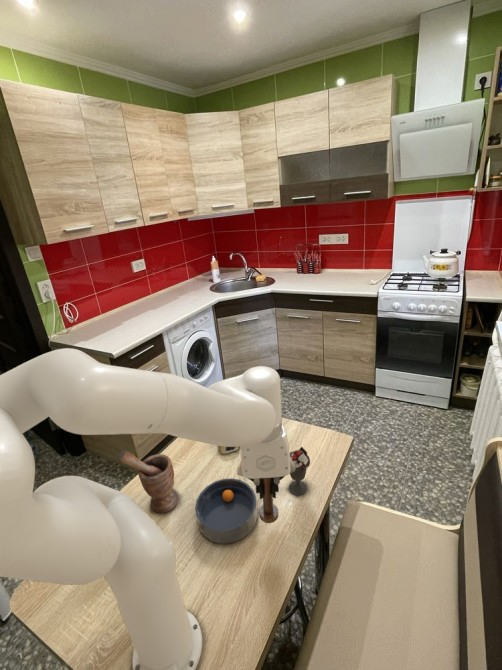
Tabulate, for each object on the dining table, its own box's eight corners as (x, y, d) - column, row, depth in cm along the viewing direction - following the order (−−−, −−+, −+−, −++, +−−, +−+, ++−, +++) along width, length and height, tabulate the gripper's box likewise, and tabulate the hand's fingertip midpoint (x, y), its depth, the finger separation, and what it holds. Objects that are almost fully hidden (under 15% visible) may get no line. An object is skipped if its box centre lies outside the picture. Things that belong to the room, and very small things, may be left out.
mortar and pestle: (145, 529, 87) (127, 470, 79) (132, 507, 93) (114, 450, 85) (185, 502, 93) (172, 445, 85) (170, 483, 100) (157, 428, 91)
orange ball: (234, 504, 91) (232, 496, 90) (222, 505, 91) (221, 496, 90) (234, 494, 94) (233, 486, 92) (223, 495, 94) (222, 487, 92)
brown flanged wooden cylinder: (279, 522, 77) (277, 481, 72) (259, 523, 77) (256, 483, 72) (277, 505, 81) (275, 466, 76) (258, 507, 81) (255, 467, 76)
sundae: (290, 501, 91) (288, 457, 85) (283, 481, 97) (280, 439, 91) (314, 495, 92) (313, 452, 86) (305, 476, 98) (304, 434, 92)
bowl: (258, 542, 81) (257, 528, 79) (194, 547, 82) (191, 533, 80) (256, 489, 95) (255, 476, 93) (201, 494, 95) (199, 480, 93)
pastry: (215, 437, 116) (214, 428, 115) (235, 432, 118) (234, 423, 116) (221, 456, 108) (219, 446, 106) (242, 450, 109) (241, 441, 108)
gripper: (222, 441, 66) (231, 510, 73) (306, 435, 66) (306, 505, 73) (224, 417, 73) (232, 482, 80) (300, 412, 73) (300, 478, 80)
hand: (267, 493), depth 76 cm, fingers closed on brown flanged wooden cylinder, 2 cm apart
